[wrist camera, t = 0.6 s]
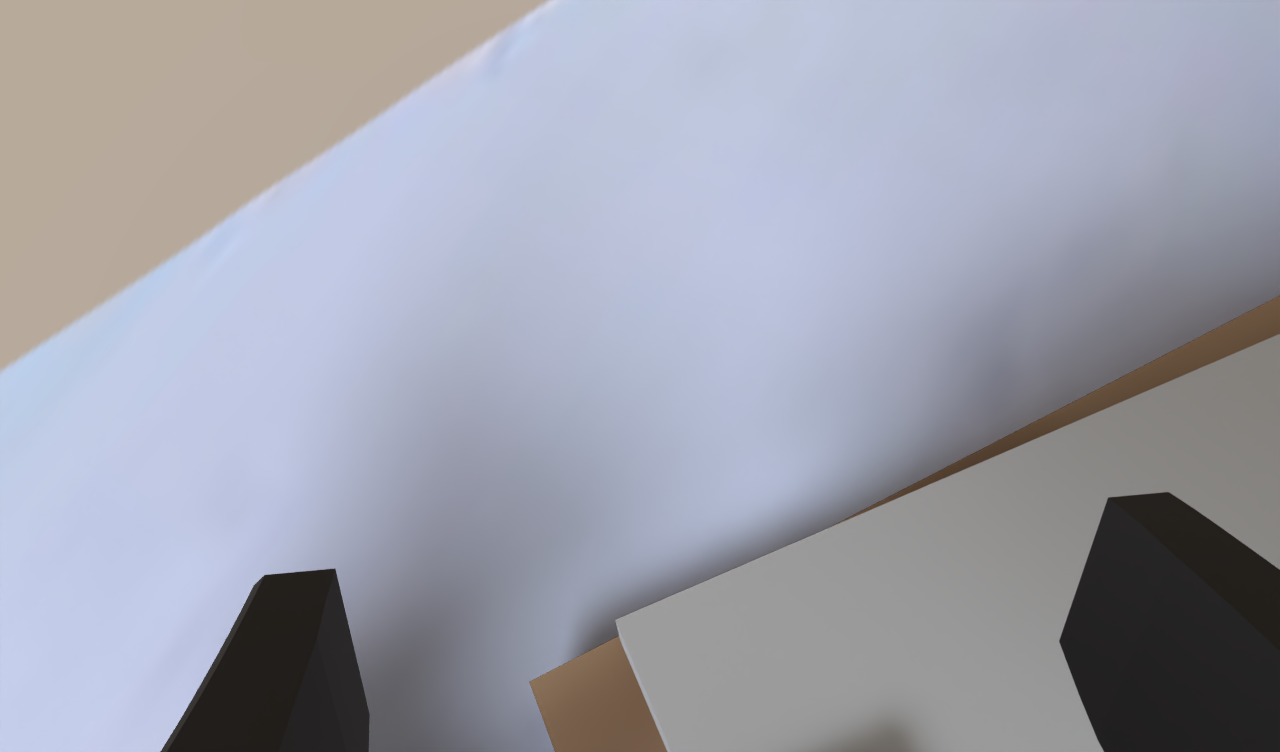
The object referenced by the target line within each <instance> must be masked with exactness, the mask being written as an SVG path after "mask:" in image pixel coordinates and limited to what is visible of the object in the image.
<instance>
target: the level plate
mask: <svg viewBox="0 0 1280 752" xmlns="http://www.w3.org/2000/svg"><path fill="white" fill-rule="evenodd" d="M1162 492H1170V493H1171V494H1173V495H1174V496H1176V497H1177V498H1179V499H1180V500H1182V501H1183V502H1185V503H1186V504H1188V505H1189V506H1191V507H1192V508H1194V509H1195V510H1197V511H1198V512H1200V513H1201V514H1202V515H1204V516H1205V517H1207V518H1208V519H1210V520H1211V521H1213V522H1214V523H1215V524H1217V525H1218V526H1220V527H1221V528H1222V529H1224V530H1225V531H1227V532H1228V533H1229V534H1231V535H1232V536H1234V537H1235V538H1236V539H1238V540H1239V541H1241V542H1242V543H1243V544H1245V545H1246V546H1248V547H1249V548H1250V549H1252V550H1253V551H1255V552H1256V553H1257V554H1259V555H1260V556H1262V557H1263V558H1264V559H1266V560H1267V561H1268V562H1270V563H1271V564H1273V565H1274V566H1275V567H1277V568H1278V569H1280V334H1278V335H1276V336H1274V337H1271V338H1269V339H1267V340H1264V341H1262V342H1260V343H1257V344H1255V345H1253V346H1250V347H1248V348H1246V349H1243V350H1241V351H1239V352H1236V353H1234V354H1232V355H1229V356H1227V357H1225V358H1223V359H1220V360H1218V361H1216V362H1213V363H1211V364H1209V365H1206V366H1204V367H1202V368H1199V369H1197V370H1195V371H1192V372H1190V373H1188V374H1185V375H1183V376H1181V377H1178V378H1176V379H1174V380H1171V381H1169V382H1167V383H1164V384H1162V385H1160V386H1157V387H1155V388H1153V389H1150V390H1148V391H1146V392H1144V393H1141V394H1139V395H1137V396H1134V397H1132V398H1130V399H1127V400H1125V401H1123V402H1120V403H1118V404H1116V405H1113V406H1111V407H1109V408H1106V409H1104V410H1102V411H1099V412H1097V413H1095V414H1092V415H1090V416H1088V417H1085V418H1083V419H1081V420H1078V421H1076V422H1074V423H1071V424H1069V425H1067V426H1064V427H1062V428H1060V429H1058V430H1055V431H1053V432H1051V433H1048V434H1046V435H1044V436H1041V437H1039V438H1037V439H1034V440H1032V441H1030V442H1027V443H1025V444H1023V445H1020V446H1018V447H1016V448H1013V449H1011V450H1009V451H1006V452H1004V453H1002V454H999V455H997V456H995V457H992V458H990V459H988V460H985V461H983V462H981V463H979V464H976V465H974V466H972V467H969V468H967V469H965V470H962V471H960V472H958V473H955V474H953V475H951V476H948V477H946V478H944V479H941V480H939V481H937V482H934V483H932V484H930V485H927V486H925V487H923V488H920V489H918V490H916V491H913V492H911V493H909V494H906V495H904V496H902V497H899V498H897V499H895V500H893V501H890V502H888V503H886V504H883V505H881V506H879V507H876V508H874V509H872V510H869V511H867V512H865V513H862V514H860V515H858V516H855V517H853V518H851V519H848V520H846V521H844V522H841V523H839V524H837V525H834V526H832V527H830V528H827V529H825V530H823V531H820V532H818V533H816V534H814V535H811V536H809V537H807V538H804V539H802V540H800V541H797V542H795V543H793V544H790V545H788V546H786V547H783V548H781V549H779V550H776V551H774V552H772V553H769V554H767V555H765V556H762V557H760V558H758V559H755V560H753V561H751V562H748V563H746V564H744V565H741V566H739V567H737V568H734V569H732V570H730V571H728V572H725V573H723V574H721V575H718V576H716V577H714V578H711V579H709V580H707V581H704V582H702V583H700V584H697V585H695V586H693V587H690V588H688V589H686V590H683V591H681V592H679V593H676V594H674V595H672V596H669V597H667V598H665V599H662V600H660V601H658V602H655V603H653V604H651V605H649V606H646V607H644V608H642V609H639V610H637V611H635V612H632V613H630V614H628V615H625V616H623V617H621V618H618V619H616V620H615V621H616V625H617V629H618V633H619V637H620V641H621V643H622V646H623V648H624V651H625V653H626V655H627V658H628V660H629V662H630V665H631V667H632V669H633V672H634V674H635V676H636V679H637V681H638V684H639V686H640V688H641V691H642V693H643V695H644V698H645V700H646V702H647V705H648V707H649V709H650V712H651V714H652V717H653V719H654V721H655V724H656V726H657V728H658V731H659V733H660V735H661V738H662V740H663V742H664V745H665V747H666V750H667V752H1104V751H1103V749H1102V747H1101V745H1100V743H1099V742H1098V740H1097V737H1096V735H1095V732H1094V730H1093V727H1092V725H1091V723H1090V720H1089V718H1088V715H1087V713H1086V710H1085V708H1084V706H1083V703H1082V701H1081V698H1080V696H1079V693H1078V691H1077V688H1076V685H1075V683H1074V680H1073V677H1072V675H1071V672H1070V669H1069V667H1068V664H1067V661H1066V659H1065V656H1064V653H1063V651H1062V648H1061V645H1060V643H1059V640H1060V637H1061V634H1062V631H1063V628H1064V625H1065V622H1066V619H1067V616H1068V613H1069V610H1070V608H1071V605H1072V602H1073V599H1074V596H1075V593H1076V590H1077V587H1078V584H1079V581H1080V578H1081V575H1082V572H1083V569H1084V567H1085V564H1086V561H1087V558H1088V555H1089V552H1090V549H1091V546H1092V543H1093V540H1094V537H1095V534H1096V531H1097V528H1098V526H1099V523H1100V520H1101V517H1102V514H1103V511H1104V508H1105V505H1106V502H1107V499H1108V497H1119V496H1129V495H1140V494H1151V493H1162Z"/></svg>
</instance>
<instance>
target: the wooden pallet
mask: <svg viewBox="0 0 1280 752" xmlns="http://www.w3.org/2000/svg"><path fill="white" fill-rule="evenodd" d="M1278 334H1280V296H1278V297H1276V298H1274V299H1272V300H1271V301H1269V302H1267V303H1265V304H1263V305H1261V306H1259V307H1257V308H1255V309H1253V310H1251V311H1249V312H1247V313H1245V314H1243V315H1241V316H1239V317H1237V318H1236V319H1234V320H1232V321H1230V322H1228V323H1226V324H1224V325H1222V326H1220V327H1218V328H1216V329H1214V330H1212V331H1210V332H1208V333H1206V334H1204V335H1203V336H1201V337H1199V338H1197V339H1195V340H1193V341H1191V342H1189V343H1187V344H1185V345H1183V346H1181V347H1179V348H1177V349H1175V350H1173V351H1171V352H1169V353H1168V354H1166V355H1164V356H1162V357H1160V358H1158V359H1156V360H1154V361H1152V362H1150V363H1148V364H1146V365H1144V366H1142V367H1140V368H1138V369H1136V370H1134V371H1133V372H1131V373H1129V374H1127V375H1125V376H1123V377H1121V378H1119V379H1117V380H1115V381H1113V382H1111V383H1109V384H1107V385H1105V386H1103V387H1101V388H1100V389H1098V390H1096V391H1094V392H1092V393H1090V394H1088V395H1086V396H1084V397H1082V398H1080V399H1078V400H1076V401H1074V402H1072V403H1070V404H1068V405H1066V406H1065V407H1063V408H1061V409H1059V410H1057V411H1055V412H1053V413H1051V414H1049V415H1047V416H1045V417H1043V418H1041V419H1039V420H1037V421H1035V422H1033V423H1031V424H1030V425H1028V426H1026V427H1024V428H1022V429H1020V430H1018V431H1016V432H1014V433H1012V434H1010V435H1008V436H1006V437H1004V438H1002V439H1000V440H998V441H997V442H995V443H993V444H991V445H989V446H987V447H985V448H983V449H981V450H979V451H977V452H975V453H973V454H971V455H969V456H967V457H965V458H963V459H962V460H960V461H958V462H956V463H954V464H952V465H950V466H948V467H946V468H944V469H942V470H940V471H938V472H936V473H934V474H932V475H930V476H928V477H927V478H925V479H923V480H921V481H919V482H917V483H915V484H913V485H911V486H909V487H907V488H905V489H903V490H901V491H899V492H897V493H895V494H894V495H892V496H890V497H888V498H886V499H884V500H882V501H880V502H878V503H876V504H874V505H872V506H870V507H868V508H866V509H864V510H862V511H860V512H859V513H857V514H855V515H853V516H851V517H849V518H847V519H845V520H843V521H841V522H844V521H846V520H848V519H851V518H853V517H855V516H858V515H860V514H862V513H865V512H867V511H869V510H872V509H874V508H876V507H879V506H881V505H883V504H886V503H888V502H890V501H893V500H895V499H897V498H899V497H902V496H904V495H906V494H909V493H911V492H913V491H916V490H918V489H920V488H923V487H925V486H927V485H930V484H932V483H934V482H937V481H939V480H941V479H944V478H946V477H948V476H951V475H953V474H955V473H958V472H960V471H962V470H965V469H967V468H969V467H972V466H974V465H976V464H979V463H981V462H983V461H985V460H988V459H990V458H992V457H995V456H997V455H999V454H1002V453H1004V452H1006V451H1009V450H1011V449H1013V448H1016V447H1018V446H1020V445H1023V444H1025V443H1027V442H1030V441H1032V440H1034V439H1037V438H1039V437H1041V436H1044V435H1046V434H1048V433H1051V432H1053V431H1055V430H1058V429H1060V428H1062V427H1064V426H1067V425H1069V424H1071V423H1074V422H1076V421H1078V420H1081V419H1083V418H1085V417H1088V416H1090V415H1092V414H1095V413H1097V412H1099V411H1102V410H1104V409H1106V408H1109V407H1111V406H1113V405H1116V404H1118V403H1120V402H1123V401H1125V400H1127V399H1130V398H1132V397H1134V396H1137V395H1139V394H1141V393H1144V392H1146V391H1148V390H1150V389H1153V388H1155V387H1157V386H1160V385H1162V384H1164V383H1167V382H1169V381H1171V380H1174V379H1176V378H1178V377H1181V376H1183V375H1185V374H1188V373H1190V372H1192V371H1195V370H1197V369H1199V368H1202V367H1204V366H1206V365H1209V364H1211V363H1213V362H1216V361H1218V360H1220V359H1223V358H1225V357H1227V356H1229V355H1232V354H1234V353H1236V352H1239V351H1241V350H1243V349H1246V348H1248V347H1250V346H1253V345H1255V344H1257V343H1260V342H1262V341H1264V340H1267V339H1269V338H1271V337H1274V336H1276V335H1278ZM841 522H839V523H841ZM839 523H837V524H839ZM837 524H835V525H837ZM833 526H834V525H833ZM831 527H832V526H831ZM829 528H830V527H829ZM530 685H531V688H532V690H533V693H534V696H535V699H536V701H537V704H538V707H539V709H540V712H541V715H542V718H543V720H544V723H545V726H546V728H547V731H548V734H549V736H550V739H551V742H552V745H553V747H554V750H555V752H667V750H666V747H665V745H664V742H663V740H662V738H661V735H660V733H659V731H658V728H657V726H656V724H655V721H654V719H653V717H652V714H651V712H650V709H649V707H648V705H647V702H646V700H645V698H644V695H643V693H642V691H641V688H640V686H639V684H638V681H637V679H636V676H635V674H634V672H633V669H632V667H631V665H630V662H629V660H628V658H627V655H626V653H625V651H624V648H623V646H622V643H621V641H620V637H619V636H618V637H616V638H614V639H612V640H610V641H608V642H606V643H604V644H602V645H600V646H598V647H596V648H594V649H592V650H590V651H588V652H586V653H585V654H583V655H581V656H579V657H577V658H575V659H573V660H571V661H569V662H567V663H565V664H563V665H561V666H559V667H557V668H555V669H553V670H551V671H550V672H548V673H546V674H544V675H542V676H540V677H538V678H536V679H534V680H532V681H530Z"/></svg>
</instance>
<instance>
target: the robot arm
mask: <svg viewBox="0 0 1280 752" xmlns="http://www.w3.org/2000/svg"><path fill="white" fill-rule="evenodd" d="M1059 643H1060V645H1061V648H1062V651H1063V653H1064V656H1065V659H1066V661H1067V664H1068V667H1069V669H1070V672H1071V675H1072V677H1073V680H1074V683H1075V685H1076V688H1077V691H1078V693H1079V696H1080V698H1081V701H1082V703H1083V706H1084V708H1085V710H1086V713H1087V715H1088V718H1089V720H1090V723H1091V725H1092V727H1093V730H1094V732H1095V735H1096V737H1097V740H1098V742H1099V743H1100V745H1101V747H1102V749H1103V751H1104V752H1280V569H1278V568H1277V567H1275V566H1274V565H1273V564H1271V563H1270V562H1268V561H1267V560H1266V559H1264V558H1263V557H1262V556H1260V555H1259V554H1257V553H1256V552H1255V551H1253V550H1252V549H1250V548H1249V547H1248V546H1246V545H1245V544H1243V543H1242V542H1241V541H1239V540H1238V539H1236V538H1235V537H1234V536H1232V535H1231V534H1229V533H1228V532H1227V531H1225V530H1224V529H1222V528H1221V527H1220V526H1218V525H1217V524H1215V523H1214V522H1213V521H1211V520H1210V519H1208V518H1207V517H1205V516H1204V515H1202V514H1201V513H1200V512H1198V511H1197V510H1195V509H1194V508H1192V507H1191V506H1189V505H1188V504H1186V503H1185V502H1183V501H1182V500H1180V499H1179V498H1177V497H1176V496H1174V495H1173V494H1171V493H1170V492H1162V493H1151V494H1140V495H1129V496H1119V497H1108V499H1107V502H1106V505H1105V508H1104V511H1103V514H1102V517H1101V520H1100V523H1099V526H1098V528H1097V531H1096V534H1095V537H1094V540H1093V543H1092V546H1091V549H1090V552H1089V555H1088V558H1087V561H1086V564H1085V567H1084V569H1083V572H1082V575H1081V578H1080V581H1079V584H1078V587H1077V590H1076V593H1075V596H1074V599H1073V602H1072V605H1071V608H1070V610H1069V613H1068V616H1067V619H1066V622H1065V625H1064V628H1063V631H1062V634H1061V637H1060V640H1059ZM368 748H369V711H368V707H367V702H366V698H365V694H364V689H363V685H362V681H361V677H360V672H359V668H358V664H357V660H356V655H355V651H354V647H353V643H352V638H351V634H350V630H349V626H348V621H347V617H346V613H345V608H344V604H343V600H342V596H341V591H340V587H339V583H338V579H337V574H336V570H335V569H326V570H316V571H305V572H294V573H283V574H272V575H264V576H263V577H262V578H261V579H260V580H259V581H258V582H257V583H256V584H255V585H254V587H253V589H252V590H251V592H250V594H249V596H248V598H247V600H246V602H245V604H244V606H243V608H242V610H241V612H240V614H239V616H238V618H237V620H236V622H235V623H234V625H233V627H232V629H231V631H230V633H229V635H228V637H227V639H226V640H225V642H224V644H223V646H222V648H221V650H220V651H219V653H218V655H217V657H216V659H215V660H214V662H213V664H212V666H211V668H210V669H209V671H208V673H207V675H206V676H205V678H204V680H203V682H202V683H201V685H200V687H199V689H198V690H197V692H196V694H195V696H194V697H193V699H192V701H191V702H190V704H189V706H188V708H187V709H186V711H185V713H184V715H183V716H182V718H181V720H180V721H179V723H178V725H177V726H176V728H175V729H174V731H173V733H172V734H171V736H170V737H169V739H168V741H167V742H166V744H165V746H164V747H163V749H162V750H161V752H368Z"/></svg>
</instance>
